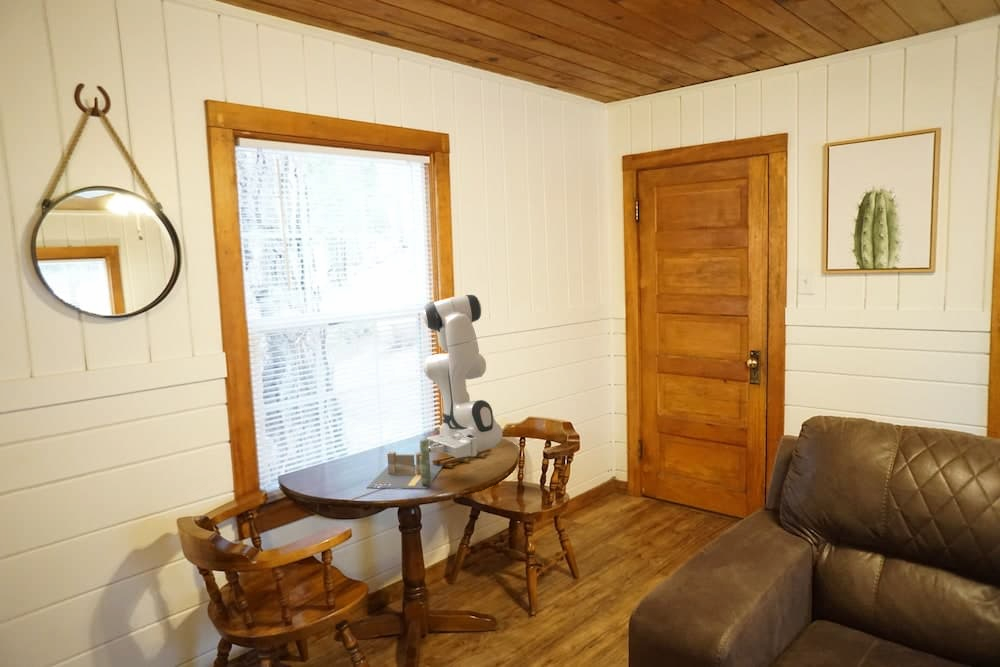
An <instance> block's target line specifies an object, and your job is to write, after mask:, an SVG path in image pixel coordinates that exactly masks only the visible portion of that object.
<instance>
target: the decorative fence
mask: <svg viewBox="0 0 1000 667" xmlns="http://www.w3.org/2000/svg"><path fill="white" fill-rule="evenodd" d="M490 452H492V448H489V449H486V450H482V451H480V450H477V455H476V456H477V457H476V458H478V457H482V458H481V459H485V458H486V455H485V454H486V453H490ZM470 457H471V458H472V456H467V457H461V458H457V457H453V456H451V455H447V456H445V457H444V456H443V457H440V458H436V459H433V460H432V464H433V465H441V466H443V467H445V468H448V469H449V468H450V469H451V468H453V464H452V463H455V462H461V463H466V464H470V459H469V458H470ZM484 457H485V458H484Z"/></svg>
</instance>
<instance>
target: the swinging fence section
mask: <svg viewBox="0 0 1000 667" xmlns="http://www.w3.org/2000/svg"><path fill="white" fill-rule="evenodd" d="M419 449H420V450H419V451H417V452H415V465H416V471H417V474H420V475H421V477H422V485H429V486H430V485H431V484H432V482H431V478H430V465H431V460H430V458H431V457H430V452H429V440H426V439H420V440H419Z"/></svg>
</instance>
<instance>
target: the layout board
mask: <svg viewBox="0 0 1000 667" xmlns="http://www.w3.org/2000/svg"><path fill="white" fill-rule="evenodd" d="M443 467H444V466H441V465H437V464H430V478H431V483H433V481H434V480H435V478H436V477H437V476H438V474H439V473H440V472H441V470H442V469H443ZM439 471H440V472H439ZM375 484H377V485H378V486H381V487H380V488H402V489H401V490H428V488H429V486H430V485H422V477H421V475H420V474H417V471H416V464H415V473H395V474H388V466H386V467H385V469H383V471H382V472H380V473H379V475H378V476H377V477H375V479H374V480H372V481H371V482H370V483H369V484H368V485H367V486H366V489H367V488H374V487H375V486H376V487H375V488H377V487H378V486H377V485H375ZM379 484H382V485H383V486H382V485H379ZM384 484H386V485H384ZM389 484H391V485H390V486H388V485H389Z"/></svg>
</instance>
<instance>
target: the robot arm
mask: <svg viewBox="0 0 1000 667" xmlns="http://www.w3.org/2000/svg"><path fill="white" fill-rule="evenodd" d="M481 317H482V304H481V302H480V300H479V298H478V297H477V296H476V295H474V294H465V295H461V296H460V295H459V296H450V297H447V298H444V299H440V300H437V301H431V302H430V303H429V302H428V303H427V304H425V305H424V307H423V312H422V318H423V322H424V323H425V325H426V326H427V328H428V329H430V330H432V331H436V334H437V341H438V345H439V347H440V348H441V350H442V351H444V352H445V353H435V354H431V355H428V356H427V357H426V358H425V359H424V362H423V372H424V374H425V376H426V377H427V378H428V379H429V380H431V381H432V382H433V383H434V384H435V385H436V386H437V387H438V390H439V391H440V394H441V397H442V408H443V413H442V424H441V425H440V426H439V434H435V435H431V436H430V435H429V436H427V437H426V440H429V453H431V454H435V453H443V454H446V455H447V456H453V457H457V458H461V457H467V456H471V457H474V456H476V455H477V450H480V451H482V450H486V449H492V448H494V447H496V446H497V445H499V444H500V443H501V441H502V439H503V429H502V427H501V425H500V424H499V423H498V422H497V421H496V419H495V417H494V414H493V408H492V406H491V404H490V403H489V402H487V400H484V399H480V400H472V401H470V398H471V397H470V394H469V392H468V390H467V382H466V381H467V380H474V379H478V378H481V377H483V375H484V374H485V373H486V370H487V361H486V360H485V357H484V356H483V355H482V353H481V354H480V347H479V344H478V339H477V334H476V331H475V328H474V325H473V323H475V322H477V321H478V320H480V318H481Z"/></svg>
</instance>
